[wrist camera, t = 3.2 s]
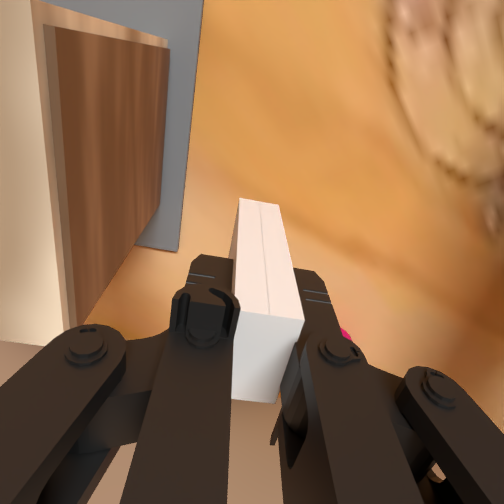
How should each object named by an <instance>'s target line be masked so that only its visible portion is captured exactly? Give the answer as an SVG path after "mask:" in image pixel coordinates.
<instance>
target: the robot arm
mask: <svg viewBox="0 0 504 504" xmlns="http://www.w3.org/2000/svg"><path fill="white" fill-rule="evenodd" d="M327 294H328V292H327V289H326V286H325V284H324V281H323V280H322V279H321V278H320V277H319V276H318V275H317V274H316V273H315V272H314V271H310V270H304V269H297V268H293V266H292V262H291V257H290V253H289V249H288V244H287V240H286V236H285V231H284V227H283V222H282V218H281V214H280V209H279V205H276V204H271V203H265V202H260V201H254V200H249V199H243V198H240V199H239V204H238V209H237V215H236V220H235V225H234V230H233V236H232V241H231V246H230V252H229V257H228V258H222V257H216V256H210V255H204V254H200V255H199V256H198V257H197V258H196V259H194V260H193V261H192V262H191V266H190V270H189V274H188V277H187V280H186V284H185V287H183V288H182V289H180V290H178V291H177V292H176V294H175V295H174V297H173V298H172V306H171V316H170V326H169V328H168V329H167V330H165V331H164V332H162V333H161V334H158V335H156V336H153V337H149V338H144V339H136V340H127V341H125V339H124V338H123V336H122V335H121V334H120V332H119V331H117V330H115V329H113V328H111V327H109V326H105V325H98V324H90V325H80V326H77V327H74V328H71V329H68V330H66V331H64V332H63V333H61V334H60V335H58V336H57V337H55V338H54V339H53V340H52V341H50V342H49V343H48V344H47V345H46V346H45V347H44V348H43V349H42V350H40V351H39V352H38V353H37V354H36V355H35V356H34V357H33V358H32V359H30V360H29V361H28V362H27V363H26V364H25V365H24V366H23V367H22V368H21V369H19V370H18V371H17V372H16V373H15V374H14V375H13V376H12V377H11V378H9V379H8V380H7V382H5V383H4V384H3V385H2V386H1V387H0V504H87V502H88V500H89V499H90V497H91V495H92V494H93V492H94V490H95V488H96V487H97V485H98V483H99V482H100V480H101V479H102V477H103V475H104V473H105V472H106V470H107V468H108V467H109V465H110V463H111V462H112V460H113V458H114V457H115V455H116V453H117V451H118V450H119V448H120V446H121V445H126V444H131V443H135V442H137V445H136V448H135V452H134V455H133V459H132V462H131V466H130V469H129V473H128V476H127V480H126V483H125V487H124V490H123V494H122V497H121V501H120V504H227V489H228V465H229V440H230V417H231V415H230V414H231V399H238V400H246V401H255V402H263V403H272V404H275V403H276V400H277V397H278V395H279V392H281V401H282V408H281V411H280V413H279V416H278V419H277V422H276V424H275V427H274V430H273V432H272V435H271V440H270V445H275V442H276V440H277V438H278V442H279V454H280V466H281V478H282V491H283V503H284V504H504V434H503V433H502V432H501V431H500V430H499V428H498V427H497V426H496V425H495V424H494V423H493V422H492V421H491V420H490V418H489V417H488V416H487V415H486V414H485V413H484V412H483V411H482V410H481V408H480V407H479V406H478V405H477V404H476V403H475V402H474V401H473V399H472V398H471V397H470V396H469V395H468V394H467V393H466V392H465V391H464V389H462V388H461V387H460V386H459V385H458V384H457V383H456V382H455V381H454V380H452V379H451V378H449V377H448V376H446V375H444V374H443V373H441V372H439V371H437V370H434V369H431V368H429V367H420V366H416V367H413V368H410V369H409V370H408V371H407V373H406V375H405V376H404V378H401V377H398V376H396V375H393V374H390V373H388V372H385V371H383V370H380V369H378V368H375V367H373V366H371V365H369V364H368V363H367V360H366V358H365V356H364V354H363V353H362V351H361V350H360V348H359V347H358V346H357V345H356V344H354V343H353V342H352V341H351V340H349V339H347V338H346V337H344V336H343V334H342V331H341V328H340V326H339V323H338V320H337V317H336V314H335V312H334V309H333V306H332V304H331V300H330V298H329V295H327ZM435 463H437V464H438V466H439V467H440V469H441V470H442V472H443V473H444V475H445V476H446V479H445V480H441V479H440V478H439V477H437V476H436V474H435V473H434V472H433V471H432V469H431V468H432V467H433V466H434V465H435Z"/></svg>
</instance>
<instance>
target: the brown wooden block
mask: <svg viewBox="0 0 504 504" xmlns="http://www.w3.org/2000/svg"><path fill="white" fill-rule="evenodd" d="M167 47H168V40H167V39H164V38H161V37H157V36H154V35H151V34H148V33H144V32H141V31H138V30H134V29H131V28H128V27H125V26H121V25H118V24H115V23H111V22H108V21H105V20H102V19H98V18H95V17H92V16H88V15H85V14H82V13H79V12H75V11H72V10H69V9H65V8H62V7H59V6H56V5H52V4H49V3H46V2H42V1H39V0H0V340H2V341H10V342H18V343H25V344H32V345H40V346H46V345H47V344H48V343H49V342H50V341H52V340H53V339H54V338H55V337H57V336H58V335H60V334H61V333H63V332H64V331H66V330H68V329H71V328H74V327H77V326H80V325H83V323H84V322H85V320H86V318H87V317H88V315H89V314H90V312H91V311H92V309H93V308H94V306H95V304H96V303H97V301H98V300H99V298H100V297H101V295H102V294H103V292H104V290H105V289H106V287H107V286H108V284H109V283H110V281H111V279H112V278H113V276H114V275H115V273H116V272H117V270H118V269H119V267H120V265H121V264H122V262H123V261H124V259H125V258H126V256H127V255H128V253H129V251H130V250H131V248H132V247H133V245H134V244H135V242H136V241H137V239H138V237H139V236H140V234H141V233H142V231H143V230H144V228H145V227H146V225H147V223H148V222H149V220H150V219H151V217H152V216H153V214H154V212H155V211H156V209H157V208H158V206H159V205H160V196H161V181H162V166H163V151H164V137H165V122H166V107H167V92H168V77H169V63H170V49H168V48H167Z"/></svg>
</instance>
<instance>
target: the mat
mask: <svg viewBox="0 0 504 504" xmlns="http://www.w3.org/2000/svg"><path fill="white" fill-rule="evenodd" d="M39 1H42V2H46V3H49V4H52V5H56V6H59V7H62V8H65V9H69V10H72V11H75V12H79V13H82V14H85V15H88V16H92V17H95V18H98V19H102V20H105V21H108V22H111V23H115V24H118V25H121V26H125V27H128V28H131V29H134V30H138V31H141V32H144V33H148V34H151V35H154V36H157V37H161V38H164V39H167V40H168V47H167V48H168V49H170V63H169V77H168V92H167V107H166V122H165V137H164V151H163V166H162V181H161V196H160V205H159V206H158V208H157V209H156V211H155V212H154V214H153V216H152V217H151V219H150V220H149V222H148V223H147V225H146V227H145V228H144V230H143V231H142V233H141V234H140V236H139V237H138V239H137V241H136V242H135V244H134V245H139V246H145V247H151V248H157V249H163V250H169V251H175V252H177V251H178V247H179V237H180V228H181V218H182V208H183V198H184V189H185V179H186V169H187V160H188V150H189V140H190V130H191V121H192V111H193V101H194V92H195V82H196V72H197V62H198V53H199V43H200V33H201V23H202V14H203V4H204V0H39Z"/></svg>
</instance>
